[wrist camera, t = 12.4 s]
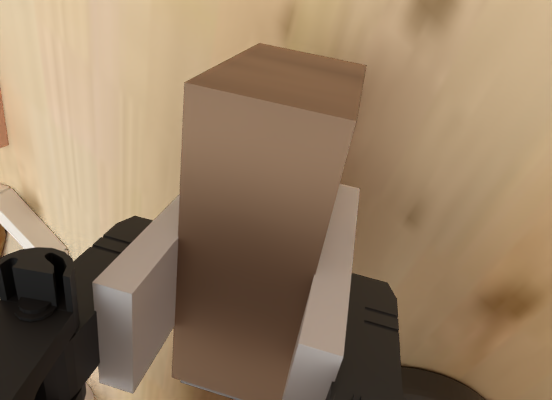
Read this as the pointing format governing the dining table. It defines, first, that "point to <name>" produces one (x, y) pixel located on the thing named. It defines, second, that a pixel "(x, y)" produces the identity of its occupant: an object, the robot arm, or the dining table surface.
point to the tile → (2, 126)
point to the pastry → (2, 238)
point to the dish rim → (25, 222)
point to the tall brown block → (256, 211)
